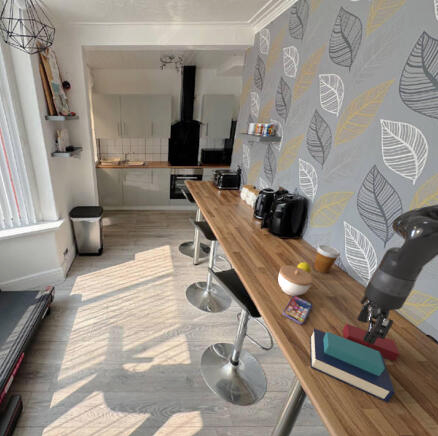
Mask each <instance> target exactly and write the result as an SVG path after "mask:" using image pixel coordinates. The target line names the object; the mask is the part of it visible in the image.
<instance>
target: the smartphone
mask: <svg viewBox="0 0 438 436" xmlns="http://www.w3.org/2000/svg"><path fill="white" fill-rule="evenodd" d="M312 308H313V303H312V302H310V301H308V300H306V299H304V298H301V297H299V295H298V296H292V297H291V299H290V300H289V301H288V303H287V305H286V306H285V308H284V310H283V312H282V314H283V316H285V317H287V318H289V319H290V320H292V321H294V322H295V323H297V324H299V325H304V324H305V322H306V320H307V318H308V316H309V314H310V312H311V310H312Z"/></svg>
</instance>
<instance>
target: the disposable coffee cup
mask: <svg viewBox="0 0 438 436" xmlns="http://www.w3.org/2000/svg"><path fill="white" fill-rule="evenodd" d="M340 256H341V253H340V250H339V249H337V248H336V247H333V246H331V245H327V244H320V245H318V247H316V255H315V261H314V264H313V268H314V269H315V270H316V271H318V272H320V273H324V274H328V273H329V271H330V270H331V269H332V267H333V265H334V264H335V262H336V261H337V259H338V258H339V257H340Z"/></svg>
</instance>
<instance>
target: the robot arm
mask: <svg viewBox="0 0 438 436" xmlns="http://www.w3.org/2000/svg"><path fill="white" fill-rule="evenodd" d="M391 228H392V230H393V232H394V233H395V234H396V235H397V236H399V237H400V238H402V239H403V240H404V243H403V244H402V245H401V246H393V247H390V248H388V249H387V250H386V251H385V253H384V254H383V256H382V258H381V260H380V262H379V264H378V265H377V268H376V269H375V270H374V272H373V273H372V275H371V277H370V279H369V281H368V283H367V285H366V287H365V289H364V291H363V296H362V299H361V300H360V304H361V306H360V309H361V310H360V312H359V313H358V316H357V321H359V322H361V323H364V324H367V323H368V327H367V330H366V331H367V332H366V334H365V335H364V337H363V340H364V341H365V342H367V343H370V344H374V343H375V341H376V339H377V338H378V337H379V338H381V339H384V338H387V335H388V333H389V331H390V329H391V327H392V326H393V324H394V320H393V319H390V318H389V317H390V314H391V313H390V311H394V310H395V311H396V310H401V309H402V307H403V306H404V304H405V303H406V301H407V299H408V298H409V296H410V295H411V293H412V291H413V289H414V288H415V285H416V282H417V280H418V278H419V277H420V275H421V273H422V271H423V270H424V268H425V266H426V265H428V264H429V263H430V262H432V261H433V260H434V259H435V258H437V257H438V204H433V205H427V206H421V207H418V208H414V209H410V210H408V211H407V210H406V211H405V212H403V213H401V214H400V215H398V216H396V217H395V218H394V220H393V221H392V224H391Z"/></svg>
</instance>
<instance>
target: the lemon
mask: <svg viewBox="0 0 438 436" xmlns="http://www.w3.org/2000/svg"><path fill="white" fill-rule="evenodd" d="M296 267H298V268H301V269H303V270H305V271H307V272H308V273H309V274H310V273H311V266H310V264H309V263H307V262H304V261H303V262H300V263H298V264H297V266H296Z"/></svg>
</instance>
